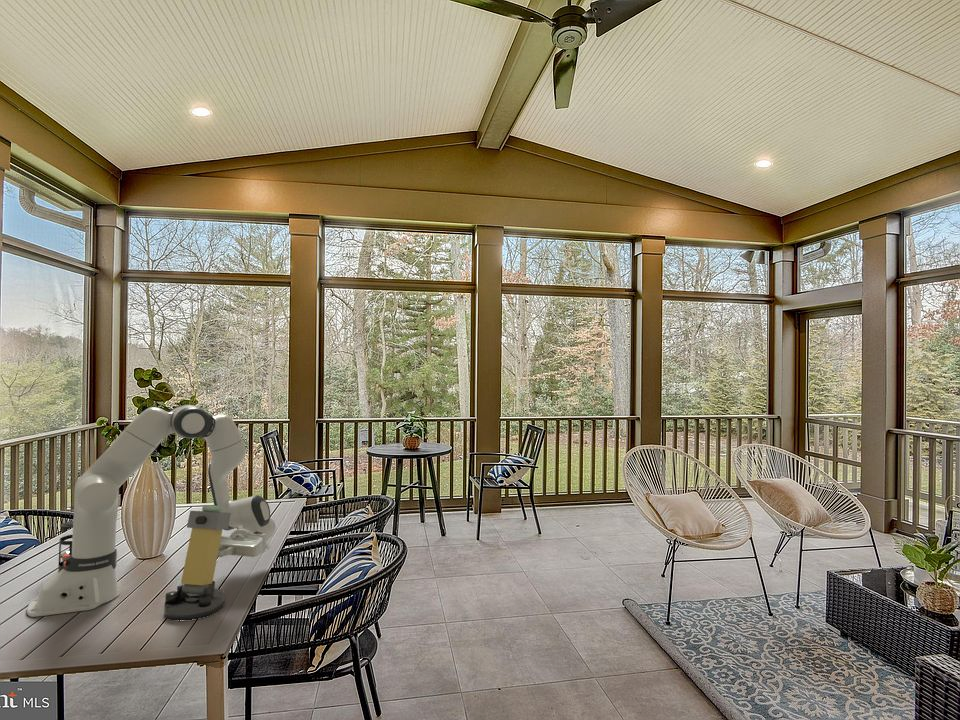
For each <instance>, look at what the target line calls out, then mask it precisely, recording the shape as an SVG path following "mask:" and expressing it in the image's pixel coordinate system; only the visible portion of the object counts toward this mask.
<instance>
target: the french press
mask: <svg viewBox="0 0 960 720" xmlns="http://www.w3.org/2000/svg"><path fill="white" fill-rule="evenodd" d="M69 509H70V510H71V509H73V510H74V505H72V506H70V507H69ZM59 527H60V528H61V532H62V533H65V532H66V531H68V530H70V529H73V520H70V521H65V522H63V523H60V525H59ZM72 537H73V533H72V534H68V535H63V536H62V537H60V538H59V544H58V565H57V568H58V569H57V570H58V571H57V573H58V572H60V571H61V570H62V569H63V561H62V558H63V556H64V555H65V554H69V555H72V540H69V539H72ZM62 545H63V546H69V549H68V550H67V551H64V552H62Z"/></svg>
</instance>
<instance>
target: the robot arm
mask: <svg viewBox="0 0 960 720" xmlns="http://www.w3.org/2000/svg"><path fill="white" fill-rule="evenodd" d="M172 434H176V435H177V436H179V437H181V438H184V439H189V440H190V439H191V440H192V439H199V438H203V439H204V440H205V442H206V444H207V447H208V451H209V452H210V455H211V457H210V458H211V462H210V464H209V466H208V470H207V474H208V480H209V486H210V490H211V496H212V500H213V505H215V506H220V507H221V510H220V512H225V513H231V516H230V521H229V526H228V529H224V531H233V532H231V533H230V535H229V536H223V535H221V540H220V545H219V551H218V556H217V558H223V557H225V556H237V557H238V556H240V557H250V558H252V557H253V558H254V557H258V556H260V555H262V554H264V553H265V552H266V547H267V542H269V540H270V539H271V538H273V536H274V535H275V532H276V528H277V527H276V522H275V521H274V519H273V518H272V517H271V509H270V506H269V503H268V501H267V500H266V499H265V498H264V497H263V496H261V495H257V494H256V495H253V496H249V497H245V498H240V499H235V500H233V499H231V496H230V492H229V488H228V487H229V486H228V482H227V481H228V480H227V479H228V478H227V477H228V475H229V474H230V472H232V471H233V470H235V469H236V468H237V467H238V466H240V465H241V464H242V462H243V461H244V460H245V457H246V454H247V450H246V446H245V442H244V440H243V437H242V435H241V432H240V430H239V428H238V426H237V425H236V423H235V421H234V420H233V418H232V417H231V416H230V415H228V414H223V413H221V414H216V415H211V414H209V413H208V412H207V411H205V410H204V409H203V408H201V407H200V406H198V405H196V404H189V403H187V404H182V405H179V406H176V407H174V408H171V409H169V410H167V411H166V410H165V409H163V408H161V407H155V406H154V407H153V406H152V407H148V408H146V409H144V410H143V411H142V412H141V413H140V414H138V415H137V416H136V417H135V418H134V419H133V420H132V421H131V422H130V423H129V424H128V425H127V426H126V427H125V428H124V429H123V430H122V432H121V433H120V434H119V435H118V436H117V437H116V439H115V440H114V441H113V442H112V443H111V445H109V447H108V448H107V449H106V450H105V451H104V452H103V453H102V454H101V455H100V456H99V457H98V458H97V459H96V460H95V461H94V462H93V463H92V464H91V465H90V466H89V467H88V468H87V469H86V471H84V472H83V474H82V475H81V476H79V478H78V479H77V481H76V483H75V485H74V488H73V489H74V493H73V496H74V498H73V499H74V500H73V501H74V502H73V506H74V509H73V518H72V519H73V520H72V521H73V528H72V534H73V537H72V538H71V539H72V540H71V541H72V555H69V554H65V555H64V556H63V558H61V562H62V561H63V569H62V570H61V571H60V572H58V571H57V573H55V575H52V577H50V578H49V579H47V580H46V581H45V582H44V583H43V584H42V585H41V587H40V589H39V591H38V594H37V597H36V598H34V599H33V600H32V601H30V602H29V604H28V606H27V608H26V614H27V616H29V617H31V618H36V617H37V618H38V617H44V616H50V615H60V614H66V613H75V612H76V613H77V612H82V611H89V610H90V611H91V610H93V609H96V608H98V607H99V606H101V605H103V604H105V603H106V604H107V603H108V602H111V601H112V600H114V599H116V598H117V597H118V596H119V595H120V594H121V593H120V592H121V591H120V590H119V586H118V581H117V574H116V573H117V572H116V567H117V565H118V552H117V551H118V549H116V540H117V539H116V537H117V536H116V535H117V522H118V521H117V520H118V512H119V511H118V510H119V497H120V496H119V495H120V488H121V486H122V485H123V484H124V483H125V482H126V481H127V480H128V479H129V478H130V477H132V475H134V474H135V473H136V471H138V470H139V469H140V468H141V467H142V465H144V463H145V462H146V461H147V460H148V458H149V457H150V456H151V455H152V454H153V453H154V451H155V450H156V449H157V448H158V447H159V445H160V444H161V443H162V441H163V440H164V439H165V438H166V437H168V436H169V435H172ZM241 526H243V527H242V528H240V529H238V530H237V528H238V527H241ZM234 529H236V530H234Z"/></svg>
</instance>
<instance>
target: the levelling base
mask: <svg viewBox="0 0 960 720" xmlns="http://www.w3.org/2000/svg"><path fill="white" fill-rule="evenodd" d="M215 584H216V581H215V580H213V582H212V584H208V585H209V586H208V587H206V588H205V589H204V595H197V594H187V593H182V586H183V585H184V584H181V583H180V584H178V585H177V586H176V587H177V588H176V589H177V591H175V590H174V591H173V590H172V591H168V592H166V593H165V599H164V601H165V602H164V605H163V607H164V608H163V611H164V612H163V616H164V618H166V620H169V619H170V620H169V621H172V620H179V621H178V622H181V621H180V620H192V619H198V618H202V619H204V618H203V617H205V618H208V617H210V615H211V616H213V615H215V614H217V613H219V612H220V611H221V610H223V608H224V606H225V592H224V591H223V589H222V590H221V589H219V588H215V586H216V585H215ZM218 611H219V612H218ZM216 612H217V613H216ZM214 613H215V614H214ZM212 614H213V615H212ZM207 616H208V617H207ZM198 620H199V619H198ZM192 621H193V620H192Z"/></svg>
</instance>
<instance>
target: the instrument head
mask: <svg viewBox="0 0 960 720" xmlns="http://www.w3.org/2000/svg"><path fill="white" fill-rule="evenodd" d="M201 509H202V510H190V511H189V515H188V520H187V524H186V528H187V529H189V528H190V529H191V533H190V536H189V541H188V547H187V551H186V557H185V561H184V565H183V570H182V576H181V579H180V580H181V581H180V584H184V585H183V586H182V593H187V594H197V595H204V589H205V588H206V587H208V586H209V585H208V584H212V582H213V581H214V576H215V572H216V567H217V561H218V560H217V559H218V557H217V556H218V551H219V545H220V540H221V536H223V530H224V529H228V526H229V521H230V516H231V513H225V512H220V510H221V507H220V506H215V505H214V504H213V505H212V504H203V505H202V508H201ZM224 531H225V530H224Z"/></svg>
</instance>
